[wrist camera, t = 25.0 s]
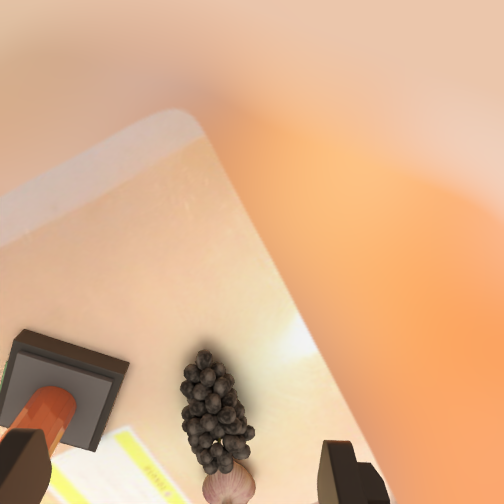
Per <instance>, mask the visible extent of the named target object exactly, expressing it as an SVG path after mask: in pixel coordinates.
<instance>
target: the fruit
mask: <svg viewBox="0 0 504 504" xmlns="http://www.w3.org/2000/svg"><path fill="white" fill-rule="evenodd" d="M184 377H185V378H186V379H187V380H186V381H184V382H182V384H181V387H180V391H181V392H182V394H183V395H184V396H185V397H187V401H188V403H189V405H188V406H186V407H184V409H183V410H182V413H181V414H182V418H183V419H184V422H183V423H182V428H183V430H184V431H185V432H187V435H188V436H189V437H188V441H189V444H190V445H191V446H192V447H191V448H192V452H193V453H194V454H196V456H197V460H198V462H199V464H201V465H203V469H204V471H205V473H207V474H209V475H212V474H215V473H216V472H217V470H219V471H220V472H221V473H222V474H228V473H230V472H231V471H232V469H233V465H234V462H233V458H232V457H234V458H235V459H239V460H241V459H246V458H248V457H249V455H250V453H251V451H250V447H249V446H248V445H247V444H246V441H249V440H251V439H252V438H253V437H254V436H255V429H254V428H253V427H252V426H250V425H247V419H246V417H245V416H244V413H245V409H244V407H243V405H242V404H241V403H240V401H239V400H237V392H236V390H235V389H234V388H232V386H233V385H234V383H235V382H234V378H233V376H232V375H230V374H225V366H224V365H223V364H222V363H220V362H215V363H212V354H211V353H210V352H209V350H202V351H199V352H198V354H197V356H196V365H194V364H190V365H188V366H187V367H186V368H185V370H184ZM221 439H223V441H222V442H223V445H222V444H221ZM214 440H216V441H218V442H217V443H214V444H213V442H214ZM212 444H213V445H212Z"/></svg>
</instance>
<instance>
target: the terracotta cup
mask: <svg viewBox="0 0 504 504" xmlns="http://www.w3.org/2000/svg"><path fill="white" fill-rule="evenodd" d="M76 409H77V405H76V401H75V399H74V397H73V396H72V395H71V394H70V393H69V392H68V391H66V390H64V389H62V388H60V387H56V386H45V387H41V388H39V389H37V390H36V391H35V392H34V393H33V394H32V395H31V397H30V398H29V399H28V400H27V402H26V403H25V405H24V406H23V407H22V409H21V410H20V412H19V413H18V414H17V416H16V417H15V419H14V420H13V421H12V423H11V424H10V426H9V427H8V428H7V430H6V431H5V433H4V434H3V435H2V437H1V438H0V443H1V441H2V440H3V438H4V437H5V436H6V434H7V433H8V432H9V431H10V430H11V429H13V428H32V429H42V430H43V431H44V434H45V439H46V443H47V447H48V452H49V456H50V460H51V458H52V456H53V455H54V453H55V451H56V449H57V447H58V445H59V443H60V441H61V439H62V438H63V436H64V434H65V432H66V430H67V428H68V426H69V424H70V423H71V421H72V419H73V416H74V414H75V412H76Z"/></svg>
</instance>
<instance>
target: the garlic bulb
mask: <svg viewBox="0 0 504 504" xmlns="http://www.w3.org/2000/svg"><path fill="white" fill-rule="evenodd" d="M233 462H234V465H233V469H232V471H231V472H230V473H228V474H222V473H221V472H220V471H219V470H217V472H216V473H215V474H212V475H208V476H207V477H206V478H205V480H204V483H203V487H202V491H203V495H204V498H205V499H206V501H207V502H208V503H209V504H247V503H248V501H249V500H250V499H251V498H252V497H253V496H254V494H255V489H256V486H255V481H254V479H253V478H252V476H251V475H250V474H249V473H248V472H247V471H246V470H245V468H244V467H243V466H242V465H240V464H237V463H236V462H235V461H234V460H233Z"/></svg>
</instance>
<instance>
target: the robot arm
mask: <svg viewBox="0 0 504 504" xmlns="http://www.w3.org/2000/svg"><path fill="white" fill-rule="evenodd" d="M51 472H52V465H51V461H50V456H49V452H48V447H47V443H46V439H45V434H44V431H43V430H42V429H32V428H13V429H11V430H10V431H9V432H8V433H7V434H6V436H5V437H4V438H3V440H2V441H1V443H0V504H40V502H41V500H42V498H43V496H44V494H45V492H46V490H47V488H48V485H49V482H50V478H51ZM317 491H318V501H319V504H390V499H389V496H388V493H387V490H386V487H385V484H384V481H383V479H382V478H381V476H380V475H379V474H378V472H377V471H376V470H375V468H374V467H373V466H372V464H371V463H365V462H357V461H356V457H355V453H354V449H353V446H352V444H351V442H350V441H336V440H324V441H323V445H322V452H321V458H320V464H319V470H318V478H317Z"/></svg>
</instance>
